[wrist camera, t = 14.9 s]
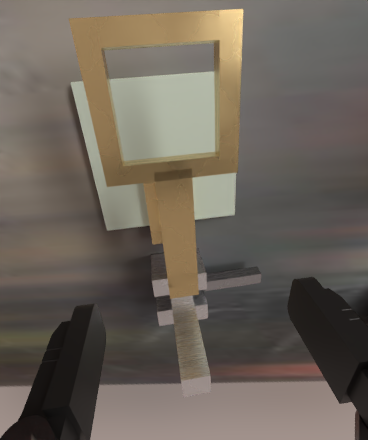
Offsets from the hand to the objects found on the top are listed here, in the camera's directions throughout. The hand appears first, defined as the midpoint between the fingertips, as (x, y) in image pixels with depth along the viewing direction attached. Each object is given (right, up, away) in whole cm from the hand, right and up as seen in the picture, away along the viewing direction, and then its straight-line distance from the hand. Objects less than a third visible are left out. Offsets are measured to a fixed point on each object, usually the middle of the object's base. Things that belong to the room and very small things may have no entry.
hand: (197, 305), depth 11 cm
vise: (+2, -2, +18) cm, 18 cm away
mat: (-2, +9, +11) cm, 15 cm away
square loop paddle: (-2, +9, +10) cm, 14 cm away
